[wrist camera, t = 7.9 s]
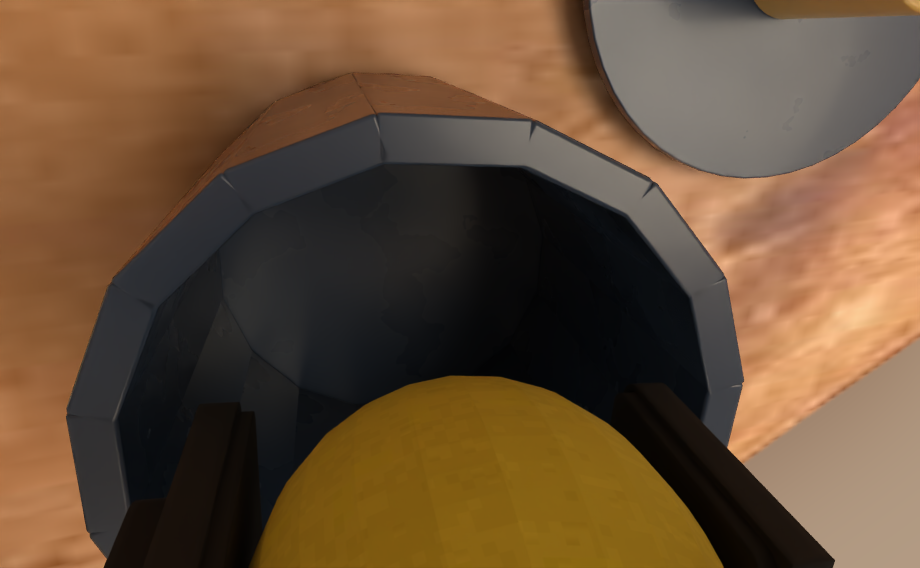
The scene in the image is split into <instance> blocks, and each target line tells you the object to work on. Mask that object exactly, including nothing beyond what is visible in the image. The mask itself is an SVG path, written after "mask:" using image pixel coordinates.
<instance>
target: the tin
mask: <svg viewBox="0 0 920 568" xmlns="http://www.w3.org/2000/svg"><path fill="white" fill-rule="evenodd" d="M446 376H491V377H503V378H507V379H511V380H514V381H518V382H522V383H526V384H530V385H534V386H537V387H541V388H544V389H547V390H549V391H552V392H555V393H557V394H558V395H560V396H562V397H564V398H565V399H567V400H569V401H571V402H572V403H574V404H576V405H578V406H579V407H581V408H583V409H584V410H586V411H588V412H590V413H591V414H593V415H595V416H596V417H598V418H599V419H601V420H603V421H604V422H606V423H607V424H609V425H610V422H611V416H612V410H613V404H614V400H615V397H616V395H617V394H618V393H623V392H624V389H625V388H626V386H627V385H629V384H636V383H658V382H659V383H664V384H665V385H667V386H668V387H669V388H670V389H671V390H672V391H673V392H674V394H675V395H676V396H677V397H678V398H679V399H680V400H681V401H682V402H683V403H684V404H685V405H686V406H687V407H688V408H689V409H690V410H691V411H692V412H693V413H694V414H695V415H696V416H697V417H698V418H699V419H700V421H701V422H702V423H703V424H704V425H705V426H706V427H707V428H708V429H709V430H710V431H711V432H712V433H713V434H714V435H715V436H716V437H717V438H718V439H719V440H720V441H721V442H722V443H723V444H724V445H725V447H726V448H727V446H728V442H729V438H730V434H731V430H732V426H733V422H734V418H735V414H736V410H737V406H738V402H739V398H740V394H741V390H742V383H743V382H744V377H743V371H742V366H741V360H740V354H739V348H738V343H737V337H736V331H735V325H734V320H733V314H732V308H731V302H730V297H729V291H728V285H727V279H726V277H725V276H724V274H723V272H722V270H721V269H720V268H719V266H718V265H717V264H716V262H715V261H714V260H713V258H712V257H711V255H710V254H709V253H708V251H707V250H706V249H705V247H704V246H703V245H702V243H701V242H700V241H699V239H698V238H697V237H696V235H695V234H694V233H693V231H692V230H691V228H690V227H689V226H688V224H687V223H686V222H685V220H684V219H683V218H682V216H681V215H680V214H679V212H678V211H677V210H676V208H675V207H674V206H673V204H672V203H671V201H670V200H669V199H668V197H667V196H666V195H665V193H664V192H663V191H662V189H661V188H660V187H659V185H658V184H657V183H655V182H653V181H652V180H651V179H650V178H649V177H647V176H645V175H643V174H641V173H639V172H637V171H635V170H633V169H631V168H629V167H628V166H626V165H624V164H622V163H620V162H618V161H616V160H614V159H612V158H610V157H608V156H606V155H604V154H602V153H600V152H598V151H596V150H594V149H592V148H590V147H588V146H586V145H584V144H582V143H580V142H578V141H576V140H574V139H572V138H570V137H569V136H567V135H565V134H563V133H561V132H559V131H557V130H555V129H553V128H551V127H549V126H547V125H545V124H543V123H541V122H539V121H537V120H534V119H532V118H530V117H527V116H525V115H522V114H520V113H518V112H515V111H513V110H510V109H508V108H506V107H503V106H501V105H498V104H496V103H494V102H491V101H489V100H486V99H484V98H482V97H479V96H477V95H474V94H472V93H470V92H467V91H465V90H462V89H460V88H458V87H455V86H453V85H450V84H448V83H446V82H443V81H441V80H438V79H436V78H433V77H428V76H410V75H399V74H373V73H355V72H353V73H352V74H351V73H349V74H346V75H343V76H341V77H338V78H335V79H333V80H330V81H327V82H323V83H320V84H316V85H313V86H311V87H309V88H307V89H305V90H302V91H300V92H298V93H295V94H293V95H290V96H287V97H285V98H282V99H279V100H277V101H276V102H274V103H272V104H271V105H270V106H269V107H268V108H267V109H266V110H265V111H264V112H263V113H262V114H261V115H260V116H259V117H258V118H257V119H256V120H255V121H254V122H253V123H252V124H251V125H250V126H249V127H248V128H247V129H246V130H245V131H244V132H243V133H242V134H241V135H240V136H239V137H238V138H237V139H236V140H235V141H234V142H233V143H232V144H231V145H230V146H229V147H228V148H227V149H226V150H225V151H224V152H223V153H222V154H221V155H220V156H219V157H218V158H217V159H216V160H215V162H214V163H213V164H212V165H211V166H210V167H209V168H208V170H207V171H206V172H205V173H204V174H203V175H202V176H201V178H200V179H199V180H198V181H197V182H196V183H195V184H194V186H193V187H192V188H191V189H190V190H189V191H188V192H187V194H186V195H185V196H184V197H183V198H182V199H181V200H180V202H179V203H178V204H177V205H176V206H175V207H174V208H173V210H172V211H171V212H170V213H169V214H168V215H167V216H166V218H165V219H164V220H163V221H162V222H161V223H160V224H159V226H158V227H157V228H156V229H155V230H154V231H153V232H152V233H151V235H150V236H149V237H148V238H147V239H146V240H145V241H144V243H143V244H142V245H141V246H140V247H139V248H138V249H137V251H136V252H135V253H134V254H133V255H132V256H131V257H130V259H129V260H128V261H127V262H126V263H125V264H124V265H123V267H122V268H121V269H120V270H119V271H118V272H117V273H116V275H115V276H114V277H113V278H112V282H111V283H110V284H109V285H108V287H107V290H106V293H105V296H104V299H103V302H102V305H101V307H100V310H99V313H98V316H97V319H96V322H95V325H94V328H93V331H92V334H91V337H90V340H89V343H88V346H87V349H86V352H85V355H84V358H83V361H82V364H81V367H80V370H79V372H78V375H77V378H76V381H75V384H74V387H73V390H72V393H71V396H70V399H69V402H68V405H67V408H66V409H67V416H66V420H67V425H68V431H69V436H70V442H71V447H72V452H73V458H74V463H75V469H76V474H77V480H78V485H79V491H80V496H81V501H82V507H83V512H84V518H85V523H86V529H87V532H88V533H90V538H91V539H92V541H93V542H94V543H95V544H96V546H97V547H98V548H99V550H100V551H101V552H102V553H103V555H104V556H105V557H106V558H108V556H109V554H110V551H111V549H112V546H113V544H114V542H115V539H116V537H117V534H118V532H119V530H120V527H121V525H122V522H123V520H124V518H125V515H126V513H127V511H128V509H129V507H130V505H131V503H133V502H134V501H135V500H141V499H155V498H167V495H168V492H169V489H170V487H171V484H172V481H173V478H174V475H175V472H176V469H177V466H178V463H179V460H180V457H181V455H182V452H183V449H184V446H185V443H186V440H187V437H188V434H189V431H190V428H191V426H192V423H193V420H194V417H195V414H196V411H197V408H198V406H199V404H204V403H226V402H240V405H241V410H242V412H243V411H254V412H255V418H256V433H257V450H258V466H259V483H260V499H261V515H262V532H263V531H264V528H265V526H266V524H267V521H268V519H269V517H270V515H271V512H272V510H273V508H274V505H275V503H276V501H277V499H278V497H279V495H280V493H281V492H282V490H283V488H284V486H285V484H286V483H287V481H288V480H289V479H290V478H291V476H292V475H293V474H294V473H295V471H296V470H297V469H298V468H299V467H300V465H301V464H302V463H303V462H304V460H305V459H306V458H307V457H308V456H309V454H310V453H311V452H312V451H313V449H314V448H315V447H316V446H317V445H318V443H319V442H320V441H321V440H322V438H323V437H324V436H325V435H326V434H327V433H328V432H329V431H331V430H332V429H333V428H335V427H336V426H338V425H339V424H340V423H342V422H343V421H344V420H346V419H347V418H348V417H350V416H351V415H352V414H354V413H355V412H356V411H358V410H359V409H360V408H362V407H363V406H364V405H366V404H368V403H369V402H371V401H373V400H375V399H378V398H380V397H382V396H384V395H387V394H389V393H391V392H393V391H395V390H398V389H400V388H402V387H404V386H406V385H409V384H413V383H418V382H423V381H428V380H432V379H437V378H442V377H446Z"/></svg>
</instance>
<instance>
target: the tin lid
mask: <svg viewBox="0 0 920 568" xmlns="http://www.w3.org/2000/svg"><path fill="white" fill-rule="evenodd" d="M583 11H584V17H585V23H586V28H587V34H588V40H589V44H590V47H591V50H592V53H593V57H594V60H595V63H596V67H597V69H598V71H599V74H600V76H601V78H602V80H603V83H604V85H605V87H606V89H607V92H608V93H609V95H610V96H611V98H612V100H613V101H614V103H615V104H616V106H617V108H618V109H619V111H620V112H621V114H622V115H623V116H624V117H625V119H626V120H627V121H628V122H629V123H630V125H631V126H632V127H633V128H634V129H635V131H636V132H637V133H638V134H640V135H641V136H642V137H643V138H644V139H645V140H646V141H648V142H649V143H650V144H651V145H652V146H653V147H654V148H656V149H658V150H659V151H661V152H662V153H664V154H666V155H667V156H669V157H670V158H672V159H673V160H676V161H678V162H680V163H683V164H685V165H687V166H690V167H692V168H694V169H697V170H700V171H704V172H707V173H711V174H715V175H719V176H725V177H735V178H761V177H770V176H776V175H781V174H786V173H790V172H794V171H797V170H800V169H803V168H806V167H809V166H812V165H814V164H816V163H818V162H821V161H823V160H825V159H827V158H829V157H831V156H833V155H835V154H837V153H838V152H840V151H842V150H843V149H845V148H847V147H848V146H850V145H851V144H853V143H855V142H856V141H857V140H859V139H860V138H861V137H863V136H864V135H865V134H866V133H868V132H869V131H870V130H872V129H873V128H874V127H875V126H877V125H878V124H879V123H880V122H881V121H882V120H883V119H884V118H885V117H886V116H887V115H888V114H889V113H890V112H891V111H892V110H893V109H895V108H896V106H897V105H898V104H899V103H900V102H901V101H902V100H903V98H904V97H905V96H906V95H907V94H908V93H909V91H910V90H911V89H912V88H913V87H914V85H915V84H916V83H917V81H918V80H919V78H920V0H583Z"/></svg>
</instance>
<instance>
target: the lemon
mask: <svg viewBox="0 0 920 568" xmlns="http://www.w3.org/2000/svg"><path fill="white" fill-rule="evenodd" d="M248 568H724V567H723V565H722V563H721V561H720V559H719V558H718V556H717V554H716V552H715V551H714V549H713V547H712V545H711V543H710V542H709V540H708V538H707V536H706V535H705V533H704V531H703V530H702V528H701V527H700V525H699V524H698V522H697V521H696V519H695V518H694V516H693V515H692V514H691V512H690V511H689V509H688V508H687V507H686V505H685V504H684V503H683V502H682V500H681V499H680V498H679V497H678V495H677V494H676V493H675V492H674V490H673V489H672V488H671V487H670V486H669V485H668V483H667V482H666V481H665V480H664V479H663V478H662V477H661V476H660V475H659V473H658V472H657V471H656V470H655V469H654V468H653V467H652V466H651V464H650V463H649V462H648V461H647V460H646V459H645V458H644V457H643V456H642V454H641V453H640V452H639V451H638V450H637V449H636V448H635V447H634V446H633V445H632V444H631V443H630V442H629V441H628V440H627V439H626V438H625V437H624V436H622V435H621V434H620V433H619V432H618V431H616V430H615V429H614V428H613V427H611V426H610V425H609V424H607V423H606V422H604V421H603V420H601V419H599V418H598V417H596V416H595V415H593V414H591V413H590V412H588V411H586V410H584V409H583V408H581V407H579V406H578V405H576V404H574V403H572V402H571V401H569V400H567V399H565V398H564V397H562V396H560V395H558V394H557V393H555V392H552V391H549V390H547V389H544V388H541V387H537V386H534V385H530V384H526V383H522V382H518V381H514V380H511V379H507V378H503V377H491V376H446V377H442V378H437V379H432V380H428V381H423V382H418V383H413V384H409V385H406V386H404V387H402V388H400V389H398V390H395V391H393V392H391V393H389V394H387V395H384V396H382V397H380V398H378V399H375V400H373V401H371V402H369V403H368V404H366V405H364V406H363V407H362V408H360V409H359V410H358V411H356V412H355V413H354V414H352V415H351V416H350V417H348V418H347V419H346V420H344V421H343V422H342V423H340V424H339V425H338V426H336V427H335V428H333V429H332V430H331V431H329V432H328V433H327V434H326V435H325V436H324V437H323V438H322V440H321V441H320V442H319V443H318V445H317V446H316V447H315V448H314V449H313V451H312V452H311V453H310V454H309V456H308V457H307V458H306V459H305V460H304V462H303V463H302V464H301V465H300V467H299V468H298V469H297V470H296V471H295V473H294V474H293V475H292V476H291V478H290V479H289V480H288V481H287V483H286V484H285V486H284V488H283V490H282V492H281V493H280V495H279V497H278V499H277V501H276V503H275V505H274V508H273V510H272V512H271V515H270V517H269V519H268V521H267V524H266V526H265V528H264V531H263V533H262V535H261V538H260V540H259V542H258V545H257V547H256V550H255V552H254V555H253V557H252V560H251V562H250V565H249V567H248Z"/></svg>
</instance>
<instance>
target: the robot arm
mask: <svg viewBox="0 0 920 568" xmlns="http://www.w3.org/2000/svg"><path fill="white" fill-rule="evenodd" d="M610 426H611V427H613V428H614V429H615V430H616V431H618V432H619V433H620V434H621V435H622V436H624V437H625V438H626V439H627V440H628V441H629V442H630V443H631V444H632V445H633V446H634V447H635V448H636V449H637V450H638V451H639V452H640V453H641V454H642V456H643V457H644V458H645V459H646V460H647V461H648V462H649V463H650V464H651V466H652V467H653V468H654V469H655V470H656V471H657V472H658V473H659V475H660V476H661V477H662V478H663V479H664V480H665V481H666V482H667V483H668V485H669V486H670V487H671V488H672V489H673V490H674V492H675V493H676V494H677V495H678V497H679V498H680V499H681V500H682V502H683V503H684V504H685V505H686V507H687V508H688V509H689V511H690V512H691V514H692V515H693V516H694V518H695V519H696V521H697V522H698V524H699V525H700V527H701V528H702V530H703V531H704V533H705V535H706V536H707V538H708V540H709V542H710V543H711V545H712V547H713V549H714V551H715V552H716V554H717V556H718V558H719V559H720V561H721V563H722V565H723V567H724V568H833V565H834V562H835V560H834V559H833V558H832V557H831V556H830V555H829V554H828V553H827V551H826V550H825V549H824V548H823V547H822V546H821V545H820V544H819V543H818V542H817V541H816V540H815V539H814V538H813V537H812V536H811V535H810V534H809V533H808V532H807V531H806V530H805V529H804V528H803V527H802V526H801V524H800V523H799V522H798V521H797V520H796V519H795V518H794V517H793V516H792V515H791V514H790V513H789V512H788V511H787V510H786V509H785V508H784V507H783V506H782V505H781V504H780V503H779V502H778V501H777V500H776V498H775V497H773V495H772V494H771V493H770V492H769V491H768V490H767V489H766V488H765V487H764V486H763V485H762V484H761V483H760V482H759V481H758V480H757V479H756V478H755V477H754V476H753V475H752V474H751V472H750V471H749V470H748V469H747V468H746V467H745V466H744V465H743V464H742V463H741V462H740V461H739V460H738V459H737V458H736V457H735V456H734V455H733V454H732V453H731V452H730V451H729V450H728V449H727V448H726V447H725V445H724V444H723V443H722V442H721V441H720V440H719V439H718V438H717V437H716V436H715V435H714V434H713V433H712V432H711V431H710V430H709V429H708V428H707V427H706V426H705V425H704V424H703V423H702V422H701V421H700V419H699V418H698V417H697V416H696V415H695V414H694V413H693V412H692V411H691V410H690V409H689V408H688V407H687V406H686V405H685V404H684V403H683V402H682V401H681V400H680V399H679V398H678V397H677V396H676V395H675V394H674V392H673V391H672V390H671V389H670V388H669V387H668V386H667V385H665V384H664V383H659V382H658V383H636V384H629V385H627V386H626V388H625V389H624V392H623V393H618V394H617V395H616V397H615V400H614V404H613V410H612V416H611V422H610ZM262 533H263V532H262V515H261V499H260V483H259V466H258V450H257V433H256V418H255V412H254V411H243V412H242V410H241V405H240V402H226V403H204V404H199V406H198V408H197V411H196V414H195V417H194V420H193V423H192V426H191V428H190V431H189V434H188V437H187V440H186V443H185V446H184V449H183V452H182V455H181V457H180V460H179V463H178V466H177V469H176V472H175V475H174V478H173V481H172V484H171V487H170V489H169V492H168V495H167V498H155V499H141V500H135V501H134V502H133V503H131V505H130V507H129V509H128V511H127V513H126V515H125V518H124V520H123V522H122V525H121V527H120V530H119V532H118V534H117V537H116V539H115V542H114V544H113V546H112V549H111V551H110V554H109V556H108V558H107V561H106V563H105V566H104V568H248V567H249V565H250V562H251V560H252V557H253V555H254V552H255V550H256V547H257V545H258V542H259V540H260V538H261V535H262Z"/></svg>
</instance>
